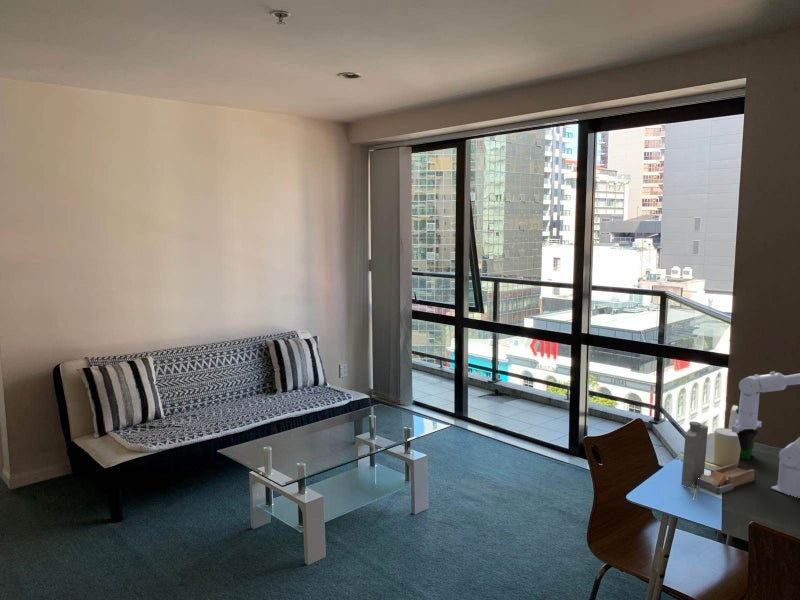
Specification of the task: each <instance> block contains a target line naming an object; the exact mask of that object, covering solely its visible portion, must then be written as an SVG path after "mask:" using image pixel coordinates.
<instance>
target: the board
mask: <svg viewBox="0 0 800 600" xmlns="http://www.w3.org/2000/svg"><path fill="white" fill-rule="evenodd" d="M713 470H714V471H717V472H720V473H722V474H725V476H726V478H727V479H726V480H725V482H724V483H723V485H728V484H731V483H733V484H734V486H733V488H736V487H739V486H742V485H746V484H747V483H751V482H754V481H755V475H756V473H755V472H756V471H755V469H753V468H752V469H749V470H747V469H743V468H740V467H738V466H737V464H736V463H734V464H730V465H727V466H724V467H723V466H720V467H718V468H713V469H711V470H710V474H711V473H712V472H713Z"/></svg>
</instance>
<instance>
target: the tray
mask: <svg viewBox="0 0 800 600" xmlns="http://www.w3.org/2000/svg"><path fill="white" fill-rule="evenodd" d="M708 476H710V474H709V475H708ZM697 485H698V486H697ZM695 486H697V487H699V486H700V488H701V487H702V489H704V490H707V491H709V492H712V493H714V494H717V495H721V494H724V493H727V492H730V491H733V490H734V487H733V486H734V484H733V483H731V484H728V485H722V486H721V487H716V486H713V485H711V484H708V483H706V482H703V481H701V480H700V478H699V479H696V481H695Z"/></svg>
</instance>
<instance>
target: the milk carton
mask: <svg viewBox="0 0 800 600" xmlns="http://www.w3.org/2000/svg"><path fill="white" fill-rule="evenodd" d="M738 413H739V403H738V404H737V405H735V404H734V405H732V406H731V409H730V413H729V423H728V429H732V426H734V425H735V424H736V423H734V421H736V420H738ZM754 430H756V429H754ZM755 438H756V436H755V437H754V439H753V441H752V443H751V446H750V448H749V450H748V451H745V450H742V449H741V451H740V457H739V459H745V460H750V459H751V457H752V453H753V449H754V445H755Z"/></svg>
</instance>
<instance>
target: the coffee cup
mask: <svg viewBox="0 0 800 600" xmlns="http://www.w3.org/2000/svg"><path fill="white" fill-rule="evenodd" d="M713 434H714V436H713V462H714V464H716V465H718V466H720V467H724V466H727V465H730V464H734V463H736V464H737V467H738V466H739V462H740V451H741V447H740V442H739V438H738V435H737V433H735V432H732V429H729V428H723V427H718V428H715V430H714V432H713Z"/></svg>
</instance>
